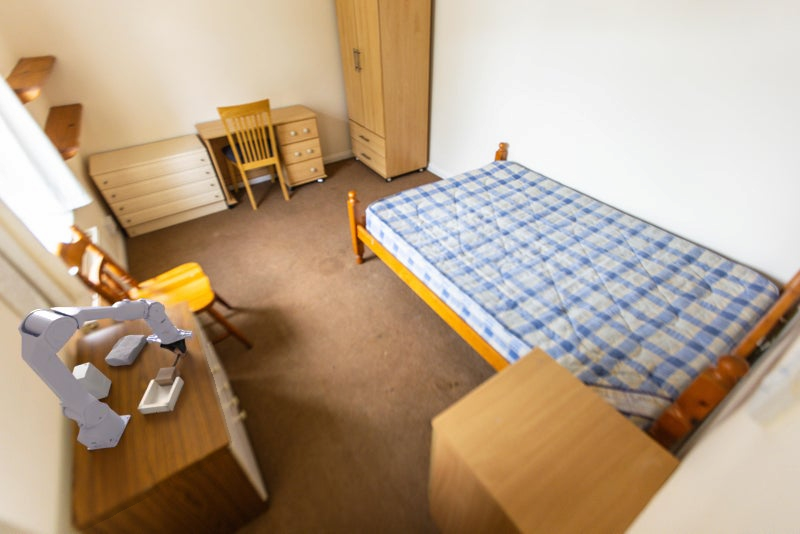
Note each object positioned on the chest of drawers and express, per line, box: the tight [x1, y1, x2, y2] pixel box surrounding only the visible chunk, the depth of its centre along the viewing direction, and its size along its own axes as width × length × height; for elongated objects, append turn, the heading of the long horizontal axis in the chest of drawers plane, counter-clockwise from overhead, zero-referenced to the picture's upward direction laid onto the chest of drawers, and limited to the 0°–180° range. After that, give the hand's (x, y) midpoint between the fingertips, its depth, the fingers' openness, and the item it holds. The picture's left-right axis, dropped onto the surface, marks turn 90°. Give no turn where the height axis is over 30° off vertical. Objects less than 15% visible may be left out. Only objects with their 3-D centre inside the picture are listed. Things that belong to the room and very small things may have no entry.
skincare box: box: [71, 362, 112, 400], centre depth 112 cm, size 6×4×12 cm
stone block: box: [104, 334, 148, 367], centre depth 127 cm, size 12×5×10 cm
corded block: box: [155, 347, 188, 387], centre depth 120 cm, size 15×5×4 cm, turn 6°
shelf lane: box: [137, 376, 185, 415], centre depth 112 cm, size 10×9×4 cm
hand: (181, 351), depth 125 cm, fingers closed on corded block, 2 cm apart
